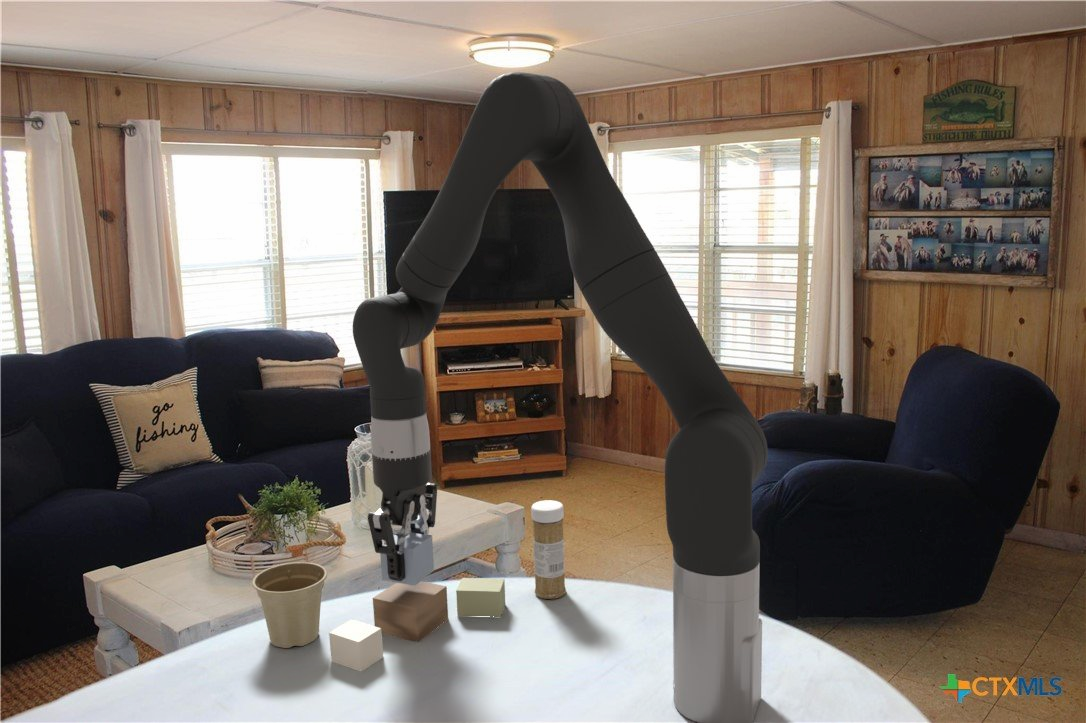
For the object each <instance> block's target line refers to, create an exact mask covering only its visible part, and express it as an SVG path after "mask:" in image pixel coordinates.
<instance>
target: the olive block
mask: <svg viewBox="0 0 1086 723" xmlns="http://www.w3.org/2000/svg"><path fill="white" fill-rule="evenodd" d="M505 586H506V584H505V578H484V577H483V578H481V577H479V578H478V577H477V578H476V577H475V578H474V577H472V578H471V577H462V578H461V579H460V582H459V583H458V586H457V587H456V590H455V591H456V593H455V594H456V608H457V610H456V612H457V617H458V616H490V617H493V616H494V617H501V618H502V616H501V614H502V615H503V613H502V612H504V610H505V607H506V587H505ZM504 606H505V607H504ZM503 609H504V610H503Z"/></svg>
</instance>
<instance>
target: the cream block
mask: <svg viewBox="0 0 1086 723" xmlns="http://www.w3.org/2000/svg"><path fill="white" fill-rule="evenodd" d="M328 636H329V637H328V638H329V650H330V659H331V662H333V663H335V664H338V665H341V666H344V667H347V668H350V669H352V670H355V671H358V672H362V671H364V670H366V669H367V668H368V667H370V666H372V665H373V664H375V663H376V662H378V661H380V660H381V659H382V658H384V649H383V637H382V636H383V634H382V633H381V628H378V627H375V625H372V624H369V623H365V622H362V621H360V620H356V619H352V618H351V619H350V620H348V621H347V622H345V623H343V624H342V625H339V626H338V627H336V628H334V629H332V630H331V631H330V632H328Z"/></svg>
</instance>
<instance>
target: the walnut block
mask: <svg viewBox="0 0 1086 723" xmlns="http://www.w3.org/2000/svg"><path fill="white" fill-rule="evenodd" d="M372 607H373V620H374V621H373V622H374V626H375V627H378V628H381V633H382V635H386V636H391V637H395V638H397V639H398V638H399V639H403V640H407V641H409V642H414V643H418V644H419V643H420V642H421V641H422V640H424V639H425V638H426V637H428V636H429V635H430V634H431V633H433V632H434V631H436V630H437V629H438V628H439V627H441V626H440V625H441V624H442V625H443V624H444V623H446V622H447V621H448V620H449V611H448V610H449V608H448V592H447V585H442V584H437V583H434V582H433V583H432V582H428V581H423V580H422V581H420V582H419V583H418V584H417V585H415V586H414V585H408V584H402V583H396V582H394V584H391V585H390V586H389V587H387V588H386V589H384V590H382V592H380V593H378V594H377V595H375V596H373V597H372ZM446 620H447V621H446ZM445 621H446V622H445ZM443 622H444V623H443ZM438 626H439V627H438ZM437 627H438V628H437ZM436 628H437V629H436ZM432 631H433V632H432ZM427 635H428V636H427Z"/></svg>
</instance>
